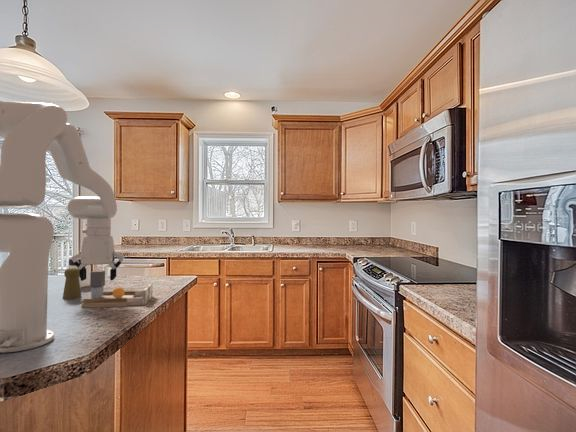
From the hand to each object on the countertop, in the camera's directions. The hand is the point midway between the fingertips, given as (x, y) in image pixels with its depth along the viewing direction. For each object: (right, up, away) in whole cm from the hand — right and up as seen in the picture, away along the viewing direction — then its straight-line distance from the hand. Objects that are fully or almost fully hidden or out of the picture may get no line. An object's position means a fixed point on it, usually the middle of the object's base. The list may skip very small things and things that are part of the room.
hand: (98, 279), depth 121 cm
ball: (+7, -5, +1) cm, 8 cm away
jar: (-23, -8, +26) cm, 36 cm away
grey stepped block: (0, -6, 0) cm, 6 cm away
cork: (-13, -8, +5) cm, 16 cm away
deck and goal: (+8, -8, +1) cm, 12 cm away
